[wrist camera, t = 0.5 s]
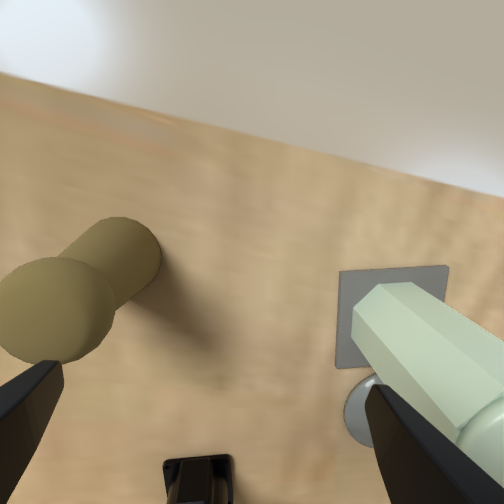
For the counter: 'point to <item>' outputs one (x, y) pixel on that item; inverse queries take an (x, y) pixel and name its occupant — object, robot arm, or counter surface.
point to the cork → (76, 292)
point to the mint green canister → (437, 366)
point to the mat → (360, 284)
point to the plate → (359, 410)
